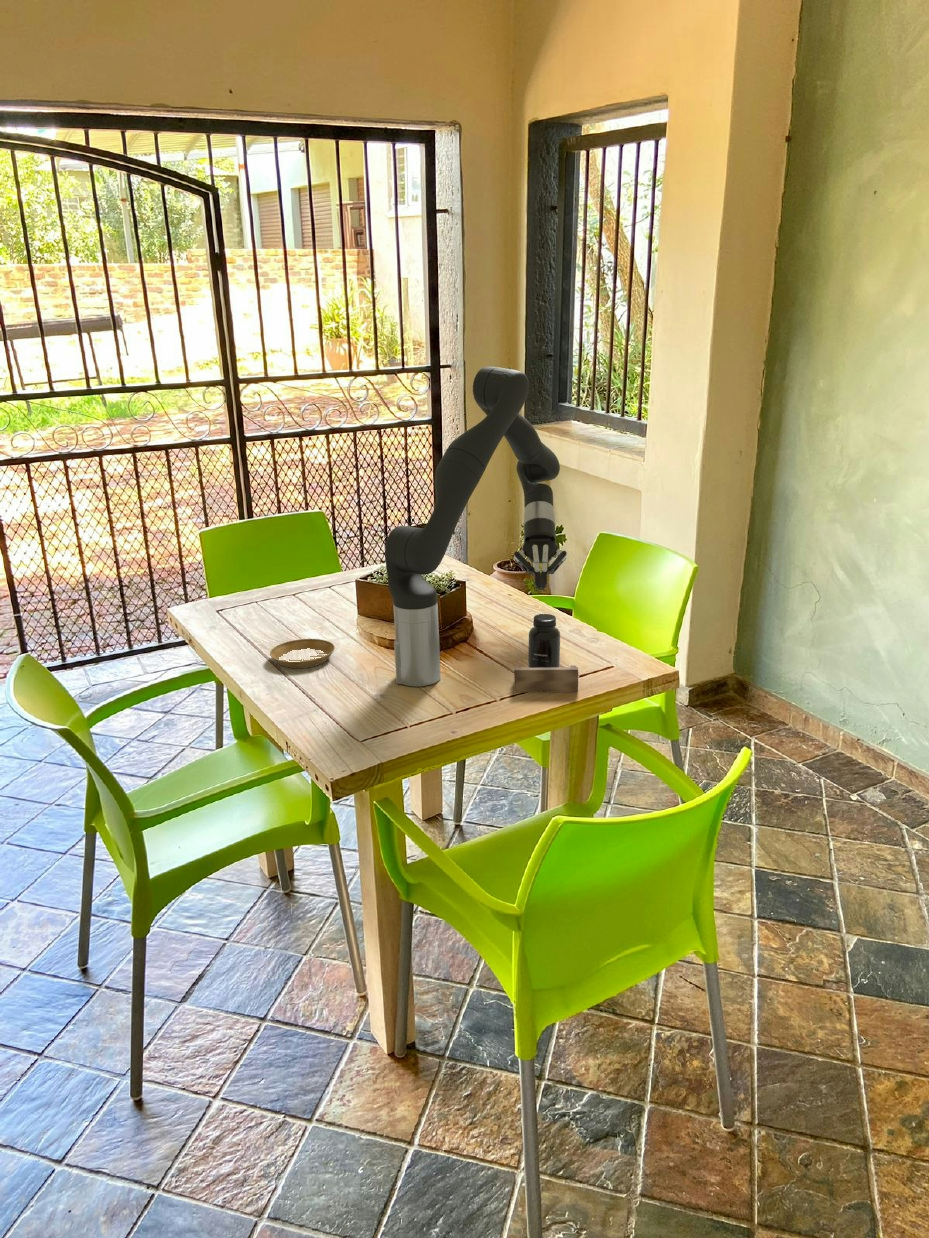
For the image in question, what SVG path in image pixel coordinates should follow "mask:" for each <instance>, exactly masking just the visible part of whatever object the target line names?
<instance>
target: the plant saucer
mask: <svg viewBox="0 0 929 1238" xmlns="http://www.w3.org/2000/svg"><path fill="white" fill-rule="evenodd" d="M307 648H310V649H315V650H321V651H323V652H324V653H319V654H327V655H325V656H324V655H323V656H322V655H317V656H310V657H321V658H316V659H315V658H314V659H310V660H304V659H303V661H302V659H301V660H290V659H289V661H300V662H288V661H286V660H279V657H281V656H283V654H287V653H288V652H290V651H292V650H301V649H307ZM335 649H336V647H335V645H334V643H333V642H331V641H330V640H325V639H320V638H301V639H299V638H298V639H294V640H289V641H286V642H282V643H280V644H277V645H276V646H274V647H273V648H271V650H270V652H269V656H270V657H271V659H273V660H274V661H275V662H276V663H277V664H279V665H281V666H282V667H284V668H288V667H290V668H289V669H306V668H305V667H308V668H312V666H313V667H316V666H318V665H321V664H323V663H325V662H326V661H327V660H328V659H329V658H330V657H331V656H332V654H333V653H334V651H335ZM317 654H318V653H317ZM324 661H325V662H324Z"/></svg>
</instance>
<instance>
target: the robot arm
mask: <svg viewBox="0 0 929 1238" xmlns="http://www.w3.org/2000/svg"><path fill="white" fill-rule="evenodd" d="M529 387H530V382H529V378H528V377H527V375H526V374H525V373H524V372H522V371H520V370H517V369H512V368H504V367H500V366H499V367H498V366H484V367H482V368H480V369H479V370H478V371H477V373H476V374H475V376H474V378H473V383H472V395H473V399H474V401H475V403H476V405H477V406H478V407H479V408H480V409H481V410H482V412H483V413H484V414H485V415H486V416H485V417H484V418H483V419H482V420H481V421H479V422H478V423H477V424H475V425H474V426H472V427H470V428H469V429H468V430H466V431H464V432H463V433H462V434H461V435H459V436H457V437H456V438H455V439H454V440H453V441H452V442H451V443H450V444H449V445H448V447H447V449H446V450H445V452H444V453H443V455H442V458H441V459H440V461H439V463H437V467H436V469H435V472H434V493H435V504H434V508H433V511H432V513H431V515H430V517H429V519H428V521H427V523H426V524H425V525H424V527H423V528H421V527H415V526H410V525H409V526H408V525H398V526H396V527H394V528H393V529H391V531H390V532H389V534H388V535H387V539H386V541H385V548H384V559H385V569H386V575H387V585H388V590H389V592H390V595H391V597H392V605H393V618H394V619H393V620H394V637H395V638H394V642H393V647H394V648H393V649H394V650H393V652H394V663H395V664H394V665H395V667H394V668H395V681H396V682H395V683H396V684H397V685H398V684H399V685H404V686H408V687H425V686H430V685H434V684H436V683H438V682H439V680H441V677H442V676H441V657H440V654H441V653H440V634H439V630H440V629H439V613H438V612H439V609H438V608H439V607H438V593H437V590H436V589H437V588H435V586H434V585H432V584H431V583H429V581H428V580H426V579H425V578H424V576H425V575H429V574H432V573H434V572H435V571H436V570H437V568H439V566H440V564H441V563H442V561H443V559H444V556H445V555H446V553H447V550H448V548H449V544H450V542H451V540H452V539H453V538H452V537H453V535H454V533H455V530H456V528H457V525H458V523H459V520H460V518H461V516H462V515H463V513H464V511H465V508H466V506H467V504H468V502H469V500H470V498H471V496H472V494H473V493H474V491H475V489H476V488H477V486H478V484H479V483H480V481H481V479H482V477H483V474H484V473H485V471H486V469H487V467H488V464H489V462H490V460H491V459H492V457H493V456H494V455H493V454H494V453H495V451H496V450H497V448H498V446H499V444H500V443H501V441H502V439H503V437H504V438H505V439H506V441H507V443H508V445H509V446H510V449H511V450H512V452H513V454H514V456H515V458H516V459H517V463H516V469H515V470H516V474H517V476H518V479H519V481H520V484H521V487H522V491H523V497H524V499H523V501H524V511H523V545H522V548H521V549H520V550H519V551H515V552H514V553H513V559H514V562H516V563H517V564H518V565H519V566H520V567H521V569H522V570H523V571H524V572H525V573H526V574H527V575H529V576H530V575H532V576H534V587H535V589H537V590H538V591H544V590H545V589H546V588H547V586H548V575H554V574H555V572H556V571H557V570H558V569H559V568H560V567H561V566H562V564H564V562H565V561H566V560H567V554H568V553H567V551H566V550H561V549H559V545H558V544H557V539H556V538H557V537H556V517H555V511H554V492H553V489H552V487H551V486H550V485H548V484H547V483H544V482H547V481H548V482H549V481H552V480H555V479H556V478H557V477H558V476H559V474H560V470H561V466H560V465H561V464H560V462H559V459H558V457H557V456H556V454H555V452H553V451H552V450H551V449H550V448H549V447H548V446H546V445H545V443H543V442H542V440H541V439H540V436H539V434H538V431H537V430H536V429H535V427H534V426H533V424H532V423H531V422H530V421H529V420H528V419H527V418H526V417H524V416H523V415H522V414H520V412H521V410H522V408H523V407H524V404H525V402H526V400H527V398H528V394H529V389H530V388H529ZM525 556H526V557H525ZM554 557H555V559H554V560H553V562H552V563H551V564H550V565H549V566H548V563H550V562H551V561H552V559H553V558H554ZM526 558H527V559H528V560H529V561H530V562H531V563H532V564H533V565H531V564H530V563H529V562H528V561H527V559H526ZM540 564H541V566H540ZM540 567H541V569H540ZM423 575H424V576H423Z"/></svg>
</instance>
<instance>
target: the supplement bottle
mask: <svg viewBox="0 0 929 1238" xmlns="http://www.w3.org/2000/svg"><path fill="white" fill-rule="evenodd" d="M532 625H533V627H532V628H530V630H529V632H528V666H527V667H528V668H550V667H560V665H561V664H560V659H561V657H560V655H561V632H560V630H559V629H558V628H557V627H556V626H557V618H556V616H555V615H553V614H550V613H540V614H539V613H538V614H535V615H534V616H533V623H532Z"/></svg>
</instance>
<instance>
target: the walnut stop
mask: <svg viewBox="0 0 929 1238" xmlns="http://www.w3.org/2000/svg"><path fill="white" fill-rule="evenodd" d="M513 668H514V669H513V670H514V672H513V673H514V674H513V675H514V678H513V679H514V693H578V692H579V667H577V665H570V667H569V666H568V667H560V666H559V667H550V668H529V667H521V665H514V666H513ZM560 691H561V692H560ZM577 691H578V692H577Z"/></svg>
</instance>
